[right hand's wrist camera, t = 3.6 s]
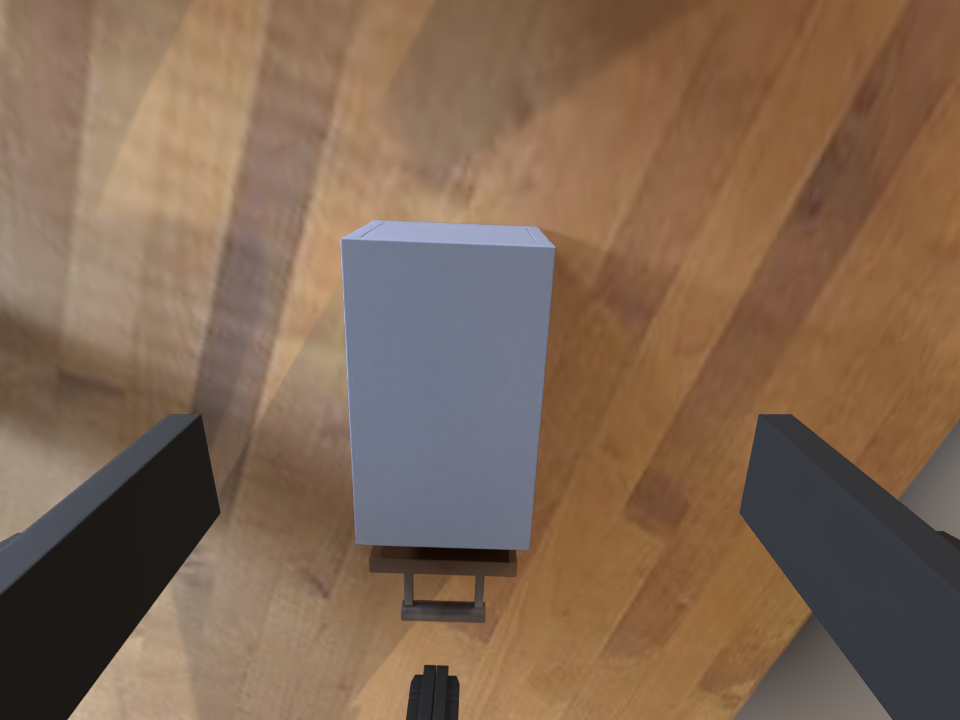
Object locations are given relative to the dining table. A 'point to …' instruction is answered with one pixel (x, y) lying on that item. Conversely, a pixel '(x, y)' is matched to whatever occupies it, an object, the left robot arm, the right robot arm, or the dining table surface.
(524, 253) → the cabinet
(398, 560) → the drawer
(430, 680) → the left robot arm
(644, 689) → the dining table surface
